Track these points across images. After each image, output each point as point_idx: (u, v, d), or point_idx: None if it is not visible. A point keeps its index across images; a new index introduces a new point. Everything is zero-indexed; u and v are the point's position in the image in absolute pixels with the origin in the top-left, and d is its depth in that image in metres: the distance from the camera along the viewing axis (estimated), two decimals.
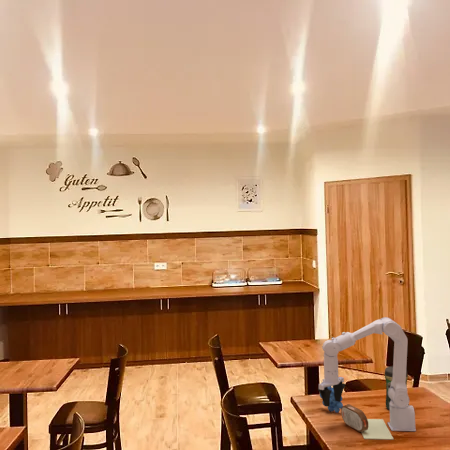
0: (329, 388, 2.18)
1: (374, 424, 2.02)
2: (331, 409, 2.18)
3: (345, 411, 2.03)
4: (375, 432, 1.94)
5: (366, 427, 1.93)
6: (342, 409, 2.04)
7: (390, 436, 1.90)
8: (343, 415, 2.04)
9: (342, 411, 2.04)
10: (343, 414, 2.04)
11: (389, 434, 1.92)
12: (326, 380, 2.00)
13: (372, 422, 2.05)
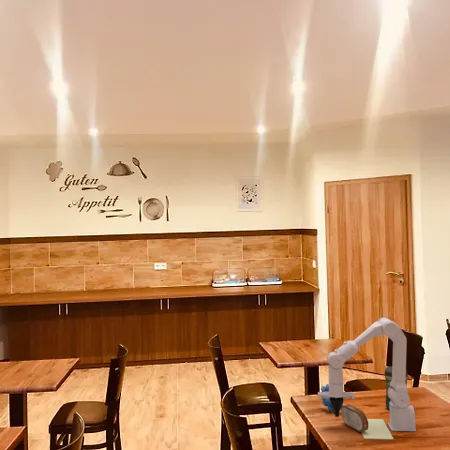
0: None
1: (374, 424, 2.02)
2: (331, 409, 2.18)
3: (345, 411, 2.03)
4: (375, 432, 1.94)
5: (366, 427, 1.93)
6: (342, 409, 2.04)
7: (390, 436, 1.90)
8: (343, 415, 2.04)
9: (342, 411, 2.04)
10: (343, 414, 2.04)
11: (389, 434, 1.92)
12: (329, 391, 2.01)
13: (372, 422, 2.05)
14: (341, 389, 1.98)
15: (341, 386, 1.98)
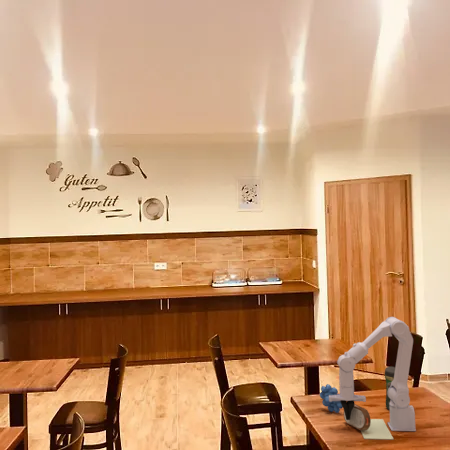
0: (329, 388, 2.18)
1: (374, 424, 2.02)
2: (331, 409, 2.18)
3: None
4: (375, 432, 1.94)
5: (367, 426, 1.93)
6: None
7: (390, 436, 1.90)
8: None
9: None
10: None
11: (389, 434, 1.92)
12: (339, 394, 2.01)
13: (372, 422, 2.05)
14: (352, 392, 1.98)
15: (352, 389, 1.98)
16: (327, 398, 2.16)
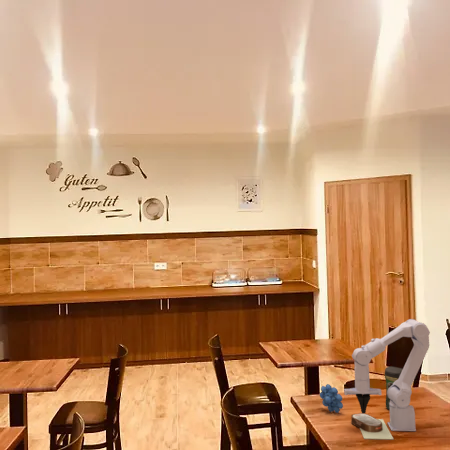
0: (329, 388, 2.18)
1: None
2: (331, 409, 2.18)
3: (363, 415, 2.06)
4: (375, 432, 1.94)
5: (374, 430, 1.94)
6: (361, 414, 2.08)
7: (390, 436, 1.90)
8: (356, 415, 2.07)
9: (360, 414, 2.07)
10: (357, 415, 2.07)
11: (389, 434, 1.92)
12: (355, 387, 2.00)
13: None
14: (368, 385, 1.97)
15: (368, 382, 1.97)
16: (327, 398, 2.16)
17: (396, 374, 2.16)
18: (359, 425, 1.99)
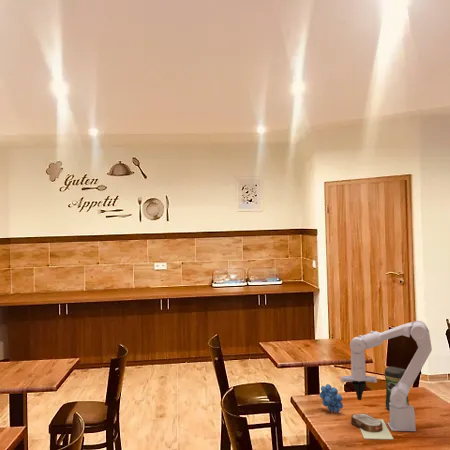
0: (329, 388, 2.18)
1: None
2: (331, 409, 2.18)
3: (363, 415, 2.06)
4: (375, 432, 1.94)
5: (374, 430, 1.94)
6: (361, 414, 2.08)
7: (390, 436, 1.90)
8: (356, 415, 2.07)
9: (360, 414, 2.07)
10: (357, 415, 2.07)
11: (389, 434, 1.92)
12: None
13: None
14: (363, 373, 2.03)
15: (363, 370, 2.03)
16: (327, 398, 2.16)
17: (396, 374, 2.16)
18: (359, 425, 1.99)
